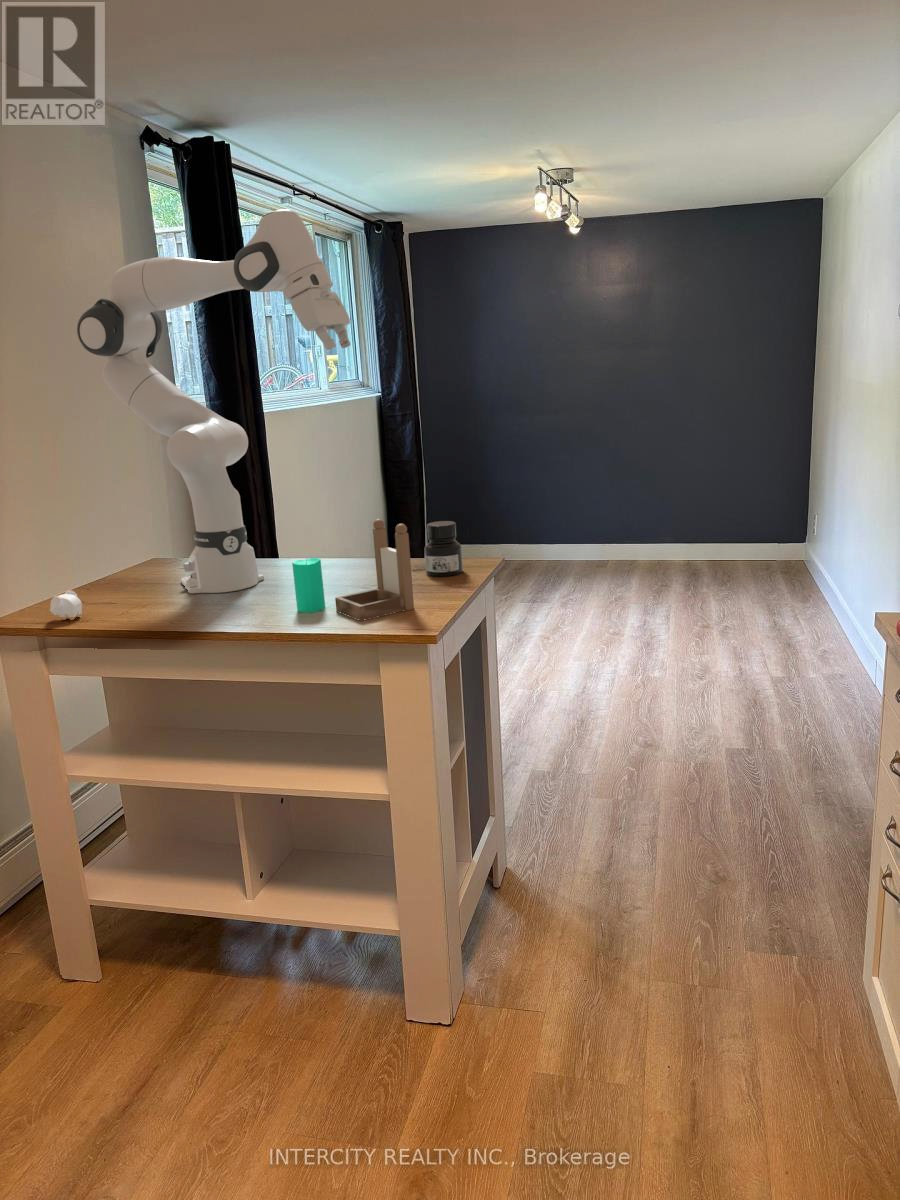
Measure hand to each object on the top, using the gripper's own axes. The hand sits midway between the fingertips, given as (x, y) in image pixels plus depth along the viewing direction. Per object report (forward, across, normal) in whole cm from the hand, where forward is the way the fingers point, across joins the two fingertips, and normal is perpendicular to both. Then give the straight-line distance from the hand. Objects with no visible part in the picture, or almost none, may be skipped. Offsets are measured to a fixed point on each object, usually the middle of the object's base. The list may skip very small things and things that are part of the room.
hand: (339, 347), depth 199 cm
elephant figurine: (+28, +24, -75) cm, 84 cm away
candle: (+47, +16, -25) cm, 56 cm away
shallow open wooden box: (+52, +17, -12) cm, 56 cm away
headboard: (+54, +13, -8) cm, 56 cm away
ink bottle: (+56, -16, -5) cm, 58 cm away
